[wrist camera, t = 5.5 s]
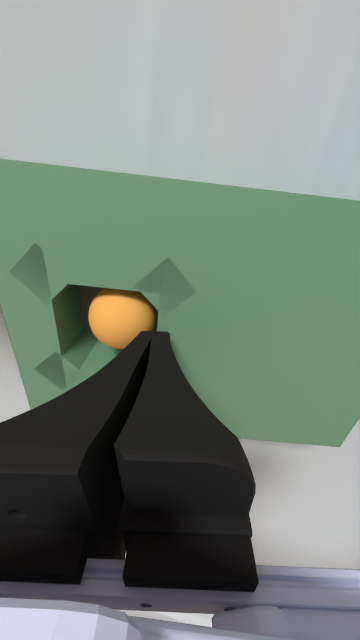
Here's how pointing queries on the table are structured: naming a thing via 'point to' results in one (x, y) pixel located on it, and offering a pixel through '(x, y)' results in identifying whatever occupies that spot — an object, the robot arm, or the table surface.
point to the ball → (120, 316)
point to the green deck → (190, 290)
